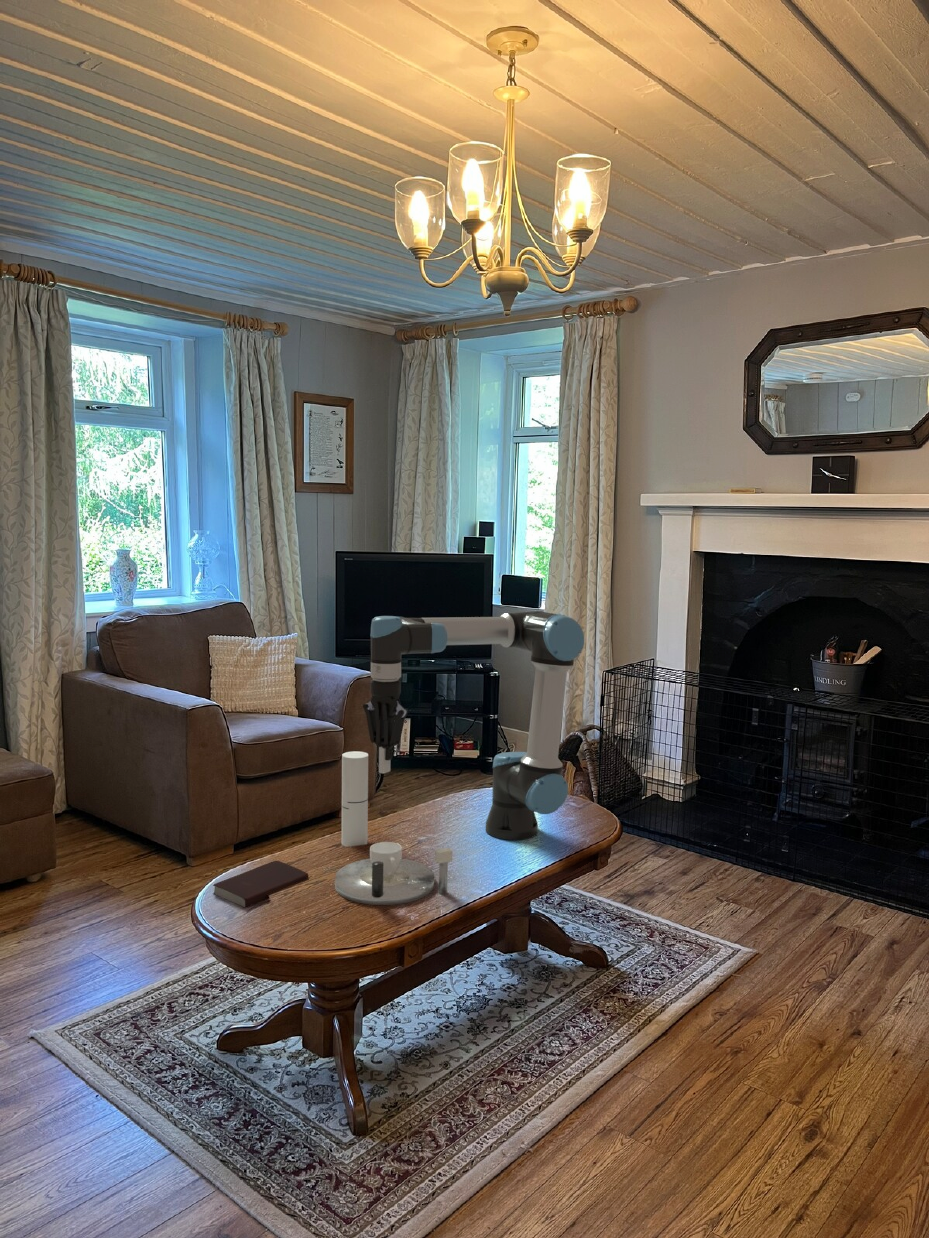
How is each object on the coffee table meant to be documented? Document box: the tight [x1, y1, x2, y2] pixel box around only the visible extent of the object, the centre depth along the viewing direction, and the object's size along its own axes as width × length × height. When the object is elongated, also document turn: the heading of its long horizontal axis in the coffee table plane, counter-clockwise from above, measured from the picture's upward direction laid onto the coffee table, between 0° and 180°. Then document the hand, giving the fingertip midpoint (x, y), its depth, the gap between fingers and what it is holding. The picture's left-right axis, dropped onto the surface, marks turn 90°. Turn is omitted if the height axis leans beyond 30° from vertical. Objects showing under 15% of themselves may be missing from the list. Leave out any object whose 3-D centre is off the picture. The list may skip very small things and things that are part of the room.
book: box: [212, 860, 309, 909], centre depth 216 cm, size 12×19×3 cm, turn 142°
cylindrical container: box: [341, 750, 369, 848], centre depth 246 cm, size 7×7×25 cm
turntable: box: [334, 857, 435, 906], centre depth 216 cm, size 24×24×10 cm
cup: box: [369, 841, 403, 878], centre depth 216 cm, size 8×10×7 cm
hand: (384, 771), depth 223 cm, fingers closed
